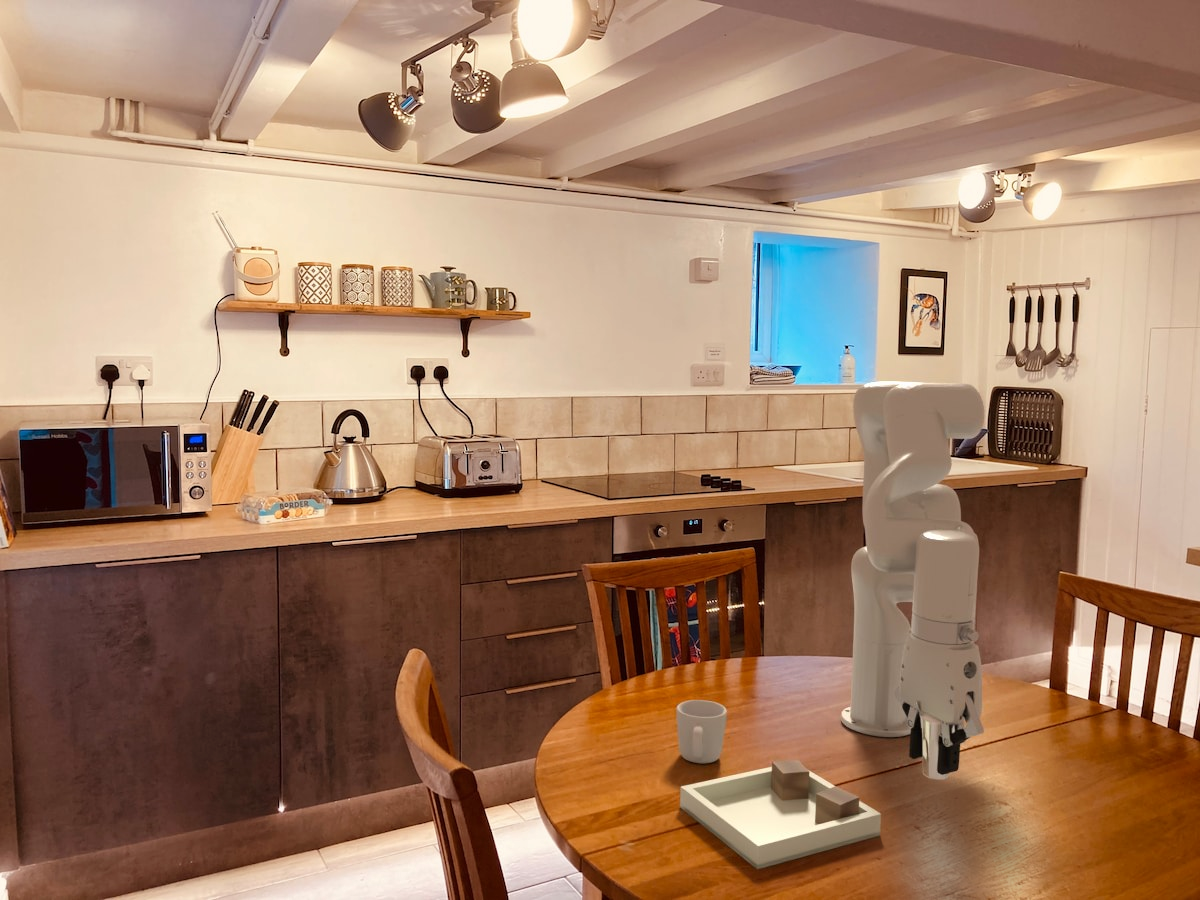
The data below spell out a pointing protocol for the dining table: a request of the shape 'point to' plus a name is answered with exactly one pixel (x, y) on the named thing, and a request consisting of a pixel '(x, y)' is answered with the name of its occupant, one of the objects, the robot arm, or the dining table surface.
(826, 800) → the walnut block
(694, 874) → the dining table surface
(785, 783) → the walnut block
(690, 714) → the cup
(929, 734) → the milkshake
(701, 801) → the tray
